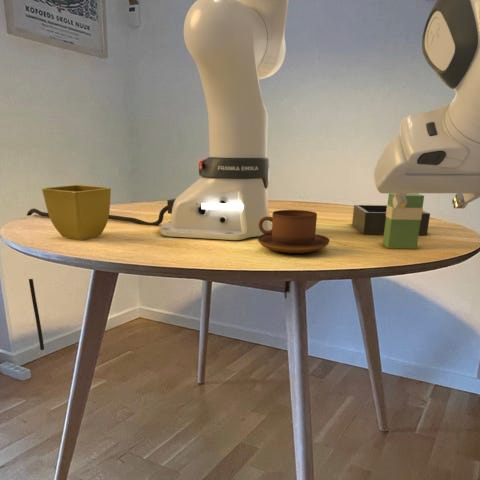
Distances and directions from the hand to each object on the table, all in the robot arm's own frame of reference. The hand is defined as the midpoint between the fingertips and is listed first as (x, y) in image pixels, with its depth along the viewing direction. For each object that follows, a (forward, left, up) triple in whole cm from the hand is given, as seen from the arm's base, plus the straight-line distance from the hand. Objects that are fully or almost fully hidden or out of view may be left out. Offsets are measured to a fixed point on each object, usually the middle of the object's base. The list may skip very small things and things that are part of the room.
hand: (427, 205), depth 72 cm
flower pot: (-59, +13, -9) cm, 61 cm away
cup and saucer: (-20, +5, -8) cm, 22 cm away
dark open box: (+2, +25, -8) cm, 27 cm away
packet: (-1, +9, -8) cm, 12 cm away
